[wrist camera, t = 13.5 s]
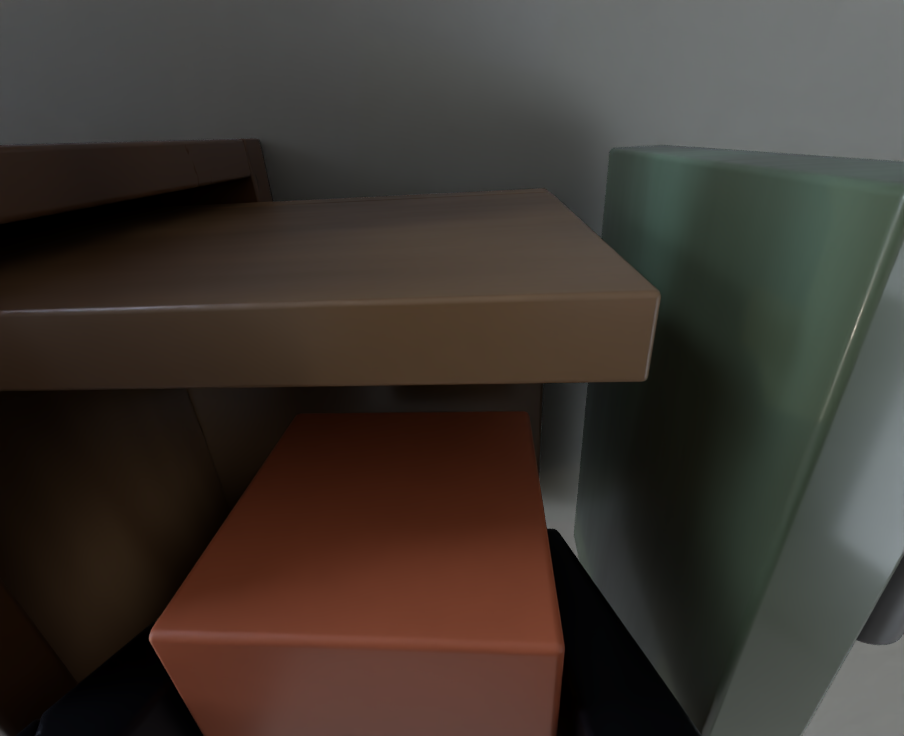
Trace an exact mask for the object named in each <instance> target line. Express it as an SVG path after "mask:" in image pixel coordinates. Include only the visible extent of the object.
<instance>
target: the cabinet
mask: <svg viewBox="0 0 904 736" xmlns="http://www.w3.org/2000/svg"><path fill="white" fill-rule="evenodd" d="M254 202H273V200H272V196H271V191H270V187H269V182H268V177H267V173H266V168H265V164H264V159H263V155H262V150H261V146H260V141H259V139H257V138H248V139H211V140H172V141H133V142H94V143H54V144H15V145H0V233H4V232H9V231H13V230H18V229H23V228H28V227H33V226H37V225H42V224H47V223H52V222H57V221H62V220H66V219H71V218H76V217H81V216H86V215H92V214H97V213H101V212H106V211H111V210H116V209H133V208H153V207H173V206H194V205H214V204H234V203H254ZM77 684H78V682H77V681H76V680H75V678H74V677H73V676H72V674H71V673H70V672H69V670H68V669H67V667H66V666H65V665H64V663H63V662H62V661H61V659H60V658H59V657H58V655H57V654H56V653H55V651H54V650H53V649H52V647H51V646H50V644H49V643H48V642H47V640H46V639H45V638H44V636H43V635H42V634H41V632H40V631H39V630H38V628H37V627H36V626H35V624H34V623H33V621H32V620H31V619H30V617H29V616H28V615H27V613H26V612H25V611H24V609H23V608H22V607H21V605H20V604H19V602H18V601H17V600H16V598H15V597H14V596H13V594H12V593H11V592H10V590H9V589H8V588H7V586H6V585H5V584H4V582H3V581H2V579H1V578H0V736H16V735H17V734H18V733H19V732H20V731H22V730H23V729H24V728H25V727H27V726H28V725H29V724H30V723H31V722H33V721H34V720H36V719H40V718H41V716H42V714H43V713H44V712H45V711H46V710H47V709H49V708H50V707H51V706H52V705H53V704H55V703H56V702H57V701H58V700H59V699H61V698H62V697H63V696H64V695H65V694H67V693H68V692H69V691H70V690H71V689H73V688H74V687H75V686H76V685H77Z"/></svg>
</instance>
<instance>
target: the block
mask: <svg viewBox="0 0 904 736" xmlns="http://www.w3.org/2000/svg"><path fill="white" fill-rule="evenodd" d="M149 641H150V643H151V645H152V647H153V648H154V650H155V652H156V654H157V655H158V657H159V659H160V661H161V662H162V664H163V666H164V668H165V669H166V671H167V673H168V675H169V676H170V678H171V680H172V682H173V683H174V685H175V687H176V689H177V690H178V692H179V694H180V696H181V697H182V699H183V701H184V703H185V704H186V706H187V708H188V710H189V711H190V713H191V715H192V717H193V718H194V720H195V722H196V724H197V725H198V727H199V729H200V731H201V732H202V734H203V736H557V728H558V717H559V706H560V695H561V685H562V674H563V663H564V652H565V644H564V638H563V631H562V625H561V618H560V611H559V605H558V598H557V592H556V585H555V579H554V572H553V566H552V559H551V553H550V546H549V540H548V533H547V527H546V520H545V513H544V507H543V500H542V494H541V487H540V481H539V474H538V468H537V461H536V455H535V448H534V442H533V435H532V429H531V422H530V416H529V414H528V413H527V412H525V411H482V412H386V413H301V414H298V415H296V416H295V417H294V419H293V420H292V422H291V423H290V425H289V426H288V428H287V429H286V431H285V432H284V434H283V435H282V437H281V438H280V440H279V441H278V443H277V444H276V446H275V447H274V448H273V450H272V451H271V453H270V454H269V456H268V457H267V459H266V460H265V462H264V463H263V465H262V466H261V468H260V469H259V471H258V472H257V474H256V475H255V477H254V478H253V480H252V481H251V483H250V484H249V485H248V487H247V488H246V490H245V491H244V493H243V494H242V496H241V497H240V499H239V500H238V502H237V503H236V505H235V506H234V508H233V509H232V511H231V512H230V514H229V515H228V517H227V518H226V519H225V521H224V522H223V524H222V525H221V527H220V528H219V530H218V531H217V533H216V534H215V536H214V537H213V539H212V540H211V542H210V543H209V545H208V546H207V548H206V549H205V551H204V552H203V553H202V555H201V556H200V558H199V559H198V561H197V562H196V564H195V565H194V567H193V568H192V570H191V571H190V573H189V574H188V576H187V577H186V579H185V580H184V582H183V583H182V585H181V586H180V587H179V589H178V590H177V592H176V593H175V595H174V596H173V598H172V599H171V601H170V602H169V604H168V605H167V607H166V608H165V610H164V611H163V613H162V614H161V616H160V617H159V619H158V620H157V621H156V623H155V624H154V626H153V627H152V629H151V631H150V634H149Z"/></svg>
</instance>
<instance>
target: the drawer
mask: <svg viewBox="0 0 904 736" xmlns="http://www.w3.org/2000/svg"><path fill="white" fill-rule="evenodd" d="M585 382H588V387H587V398H586V408H585V419H584V430H583V440H582V451H581V462H580V472H579V483H578V494H577V505H576V515H575V526H574V538H575V543H576V548H577V552H578V557H579V561H580V563H581V564H582V566H583V567H584V569H585V570H586V571H587V573H588V574H589V576H590V577H591V579H592V580H593V581H594V583H595V584H596V586H597V587H598V589H599V590H600V591H601V593H602V594H603V596H604V597H605V598H606V600H607V601H608V603H609V604H610V606H611V607H612V608H613V610H614V611H615V613H616V614H617V616H618V617H619V618H620V620H621V621H622V623H623V624H624V625H625V627H626V628H627V630H628V631H629V633H630V634H631V635H632V637H633V638H634V640H635V641H636V643H637V644H638V645H639V647H640V648H641V650H642V651H643V652H644V654H645V655H646V657H647V658H648V660H649V661H650V662H651V664H652V665H653V667H654V668H655V670H656V671H657V672H658V674H659V675H660V677H661V678H662V679H663V681H664V682H665V684H666V685H667V687H668V688H669V689H670V691H671V692H672V694H673V695H674V697H675V698H676V699H677V701H678V702H679V704H680V705H681V706H682V708H683V709H684V711H685V712H686V714H687V715H688V716H689V718H690V719H691V721H692V722H693V724H694V725H695V726H696V728H697V729H698V731H699V732H700V733H701V735H702V736H802V735H803V733H804V732H805V730H806V728H807V726H808V724H809V723H810V721H811V719H812V717H813V716H814V714H815V712H816V710H817V708H818V707H819V705H820V703H821V701H822V700H823V698H824V696H825V694H826V692H827V691H828V689H829V687H830V685H831V684H832V682H833V680H834V678H835V677H836V675H837V673H838V671H839V669H840V668H841V666H842V664H843V662H844V661H845V659H846V657H847V655H848V653H849V652H850V650H851V648H852V646H853V645H854V643H855V641H856V640H857V641H860V642H863V643H867V644H873V645H887V644H891V643H894V642H896V641H898V640H899V639H900V638H901V637H902V635H903V634H904V162H902V161H888V160H873V159H859V158H845V157H830V156H816V155H801V154H787V153H773V152H758V151H744V150H730V149H715V148H701V147H686V146H672V145H655V146H637V147H619V148H613V149H611V150H610V152H609V163H608V173H607V184H606V195H605V206H604V216H603V227H602V238H601V237H600V236H598V235H597V234H596V233H595V232H594V231H593V230H592V229H591V228H590V227H589V226H587V225H586V224H585V223H584V222H583V221H582V220H581V219H580V218H579V217H578V216H576V215H575V214H574V213H573V212H572V211H571V210H570V209H569V208H568V207H567V206H565V205H564V204H563V203H562V202H561V201H560V200H559V199H558V198H557V197H556V196H555V195H553V194H552V193H550V192H549V191H548V190H547V189H544V188H538V189H517V190H497V191H477V192H457V193H436V194H416V195H396V196H376V197H356V198H335V199H315V200H295V201H275V202H254V203H234V204H214V205H194V206H173V207H153V208H133V209H116V210H111V211H106V212H101V213H97V214H92V215H86V216H81V217H76V218H71V219H66V220H62V221H57V222H52V223H47V224H42V225H37V226H33V227H28V228H23V229H18V230H13V231H9V232H4V233H0V578H1V579H2V581H3V582H4V584H5V585H6V586H7V588H8V589H9V590H10V592H11V593H12V594H13V596H14V597H15V598H16V600H17V601H18V602H19V604H20V605H21V607H22V608H23V609H24V611H25V612H26V613H27V615H28V616H29V617H30V619H31V620H32V621H33V623H34V624H35V626H36V627H37V628H38V630H39V631H40V632H41V634H42V635H43V636H44V638H45V639H46V640H47V642H48V643H49V644H50V646H51V647H52V649H53V650H54V651H55V653H56V654H57V655H58V657H59V658H60V659H61V661H62V662H63V663H64V665H65V666H66V667H67V669H68V670H69V672H70V673H71V674H72V676H73V677H74V678H75V680H76V681H77V682H78V684H79V683H80V682H81V681H82V680H84V679H85V678H86V677H87V676H88V675H90V674H91V673H92V672H93V671H94V670H96V669H97V668H98V667H99V666H100V665H102V664H103V663H104V662H105V661H106V660H108V659H109V658H110V657H111V656H112V655H114V654H115V653H116V652H117V651H119V650H120V649H121V648H122V647H123V646H125V645H126V644H127V643H128V642H129V641H131V640H132V639H133V638H134V637H135V636H137V635H138V634H139V633H140V632H141V631H143V630H144V629H145V628H146V627H147V626H149V625H150V624H151V623H152V622H154V621H155V620H156V619H157V618H158V617H160V616H161V614H162V613H163V611H164V610H165V608H166V607H167V605H168V604H169V602H170V601H171V599H172V598H173V596H174V595H175V593H176V592H177V590H178V589H179V587H180V586H181V585H182V583H183V582H184V580H185V579H186V577H187V576H188V574H189V573H190V571H191V570H192V568H193V567H194V565H195V564H196V562H197V561H198V559H199V558H200V556H201V555H202V553H203V552H204V551H205V549H206V548H207V546H208V545H209V543H210V542H211V540H212V539H213V537H214V536H215V534H216V533H217V531H218V530H219V528H220V527H221V525H222V524H223V522H224V521H225V519H226V518H227V517H228V515H229V514H230V512H231V511H232V509H233V508H234V506H235V505H236V503H237V502H238V500H239V499H240V497H241V496H242V494H243V493H244V491H245V490H246V488H247V487H248V485H249V484H250V483H251V481H252V480H253V478H254V477H255V475H256V474H257V472H258V471H259V469H260V468H261V466H262V465H263V463H264V462H265V460H266V459H267V457H268V456H269V454H270V453H271V451H272V450H273V448H274V447H275V446H276V444H277V443H278V441H279V440H280V438H281V437H282V435H283V434H284V432H285V431H286V429H287V428H288V426H289V425H290V423H291V422H292V420H293V419H294V417H295V416H296V415H298V414H301V413H386V412H482V411H525V412H527V413H528V414H529V416H530V422H531V429H532V435H533V442H534V448H535V455H536V461H537V468H538V474H540V451H541V428H542V404H543V383H585Z"/></svg>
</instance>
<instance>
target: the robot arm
mask: <svg viewBox="0 0 904 736" xmlns="http://www.w3.org/2000/svg"><path fill="white" fill-rule="evenodd" d="M547 533H548V540H549V546H550V553H551V559H552V566H553V572H554V579H555V585H556V592H557V598H558V605H559V611H560V618H561V625H562V631H563V638H564V644H565V652H564V663H563V674H562V685H561V695H560V706H559V717H558V728H557V736H702V735H701V733H700V732H699V731H698V729H697V728H696V726H695V725H694V724H693V722H692V721H691V719H690V718H689V716H688V715H687V714H686V712H685V711H684V709H683V708H682V706H681V705H680V704H679V702H678V701H677V699H676V698H675V697H674V695H673V694H672V692H671V691H670V689H669V688H668V687H667V685H666V684H665V682H664V681H663V679H662V678H661V677H660V675H659V674H658V672H657V671H656V670H655V668H654V667H653V665H652V664H651V662H650V661H649V660H648V658H647V657H646V655H645V654H644V652H643V651H642V650H641V648H640V647H639V645H638V644H637V643H636V641H635V640H634V638H633V637H632V635H631V634H630V633H629V631H628V630H627V628H626V627H625V625H624V624H623V623H622V621H621V620H620V618H619V617H618V616H617V614H616V613H615V611H614V610H613V608H612V607H611V606H610V604H609V603H608V601H607V600H606V598H605V597H604V596H603V594H602V593H601V591H600V590H599V589H598V587H597V586H596V584H595V583H594V581H593V580H592V579H591V577H590V576H589V574H588V573H587V571H586V570H585V569H584V567H583V566H582V564H581V563H580V562H579V560H578V559H577V557H576V556H575V554H574V553H573V552H572V550H571V549H570V547H569V546H568V544H567V543H566V542H565V540H564V539H563V537H562V536H561V535H560V533H559V532H558V531H557V530H555V529H547ZM158 619H159V617H158V618H157V619H156V620H155V621H154V622H152V623H151V624H150V625H149V626H147V627H146V628H145V629H144V630H143V631H141V632H140V633H139V634H138V635H137V636H135V637H134V638H133V639H132V640H131V641H129V642H128V643H127V644H126V645H125V646H123V647H122V648H121V649H120V650H119V651H117V652H116V653H115V654H114V655H112V656H111V657H110V658H109V659H108V660H106V661H105V662H104V663H103V664H102V665H100V666H99V667H98V668H97V669H96V670H94V671H93V672H92V673H91V674H90V675H88V676H87V677H86V678H85V679H84V680H82V681H81V682H80V683H79V684H77V685H76V686H75V687H74V688H73V689H71V690H70V691H69V692H68V693H67V694H65V695H64V696H63V697H62V698H61V699H59V700H58V701H57V702H56V703H55V704H53V705H52V706H51V707H50V708H49V709H47V710H46V711H45V712H44V713H43V714H42V716H41V718H40V719H36V720H34V721H33V722H31V723H30V724H29V725H28V726H27V727H25V728H24V729H23V730H22V731H20V732H19V733H18V734H17V735H16V736H203V734H202V732H201V731H200V729H199V727H198V725H197V724H196V722H195V720H194V718H193V717H192V715H191V713H190V711H189V710H188V708H187V706H186V704H185V703H184V701H183V699H182V697H181V696H180V694H179V692H178V690H177V689H176V687H175V685H174V683H173V682H172V680H171V678H170V676H169V675H168V673H167V671H166V669H165V668H164V666H163V664H162V662H161V661H160V659H159V657H158V655H157V654H156V652H155V650H154V648H153V647H152V645H151V643H150V641H149V634H150V631H151V629H152V627H153V626H154V624H155V623H156V621H157V620H158Z"/></svg>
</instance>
